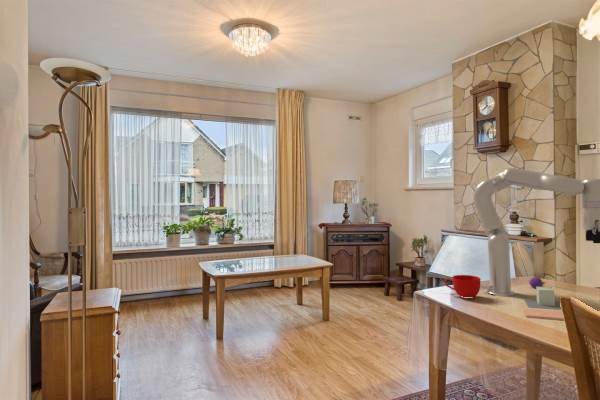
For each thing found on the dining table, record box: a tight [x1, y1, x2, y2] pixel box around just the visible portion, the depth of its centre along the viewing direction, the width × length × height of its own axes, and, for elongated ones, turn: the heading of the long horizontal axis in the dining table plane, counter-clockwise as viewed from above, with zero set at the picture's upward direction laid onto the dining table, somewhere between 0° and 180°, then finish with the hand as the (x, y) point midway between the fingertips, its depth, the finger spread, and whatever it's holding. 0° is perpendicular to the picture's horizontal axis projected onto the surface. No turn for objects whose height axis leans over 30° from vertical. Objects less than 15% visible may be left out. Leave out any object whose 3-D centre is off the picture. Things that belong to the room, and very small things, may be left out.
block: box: [535, 286, 556, 306], centre depth 166 cm, size 6×6×7 cm
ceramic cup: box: [444, 274, 481, 298], centre depth 184 cm, size 13×17×10 cm
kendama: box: [529, 275, 544, 289], centre depth 202 cm, size 6×6×20 cm
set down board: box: [522, 308, 565, 321], centre depth 152 cm, size 14×10×1 cm
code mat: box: [523, 299, 562, 311], centre depth 165 cm, size 16×14×1 cm
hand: (593, 241), depth 168 cm, fingers open, 9 cm apart
